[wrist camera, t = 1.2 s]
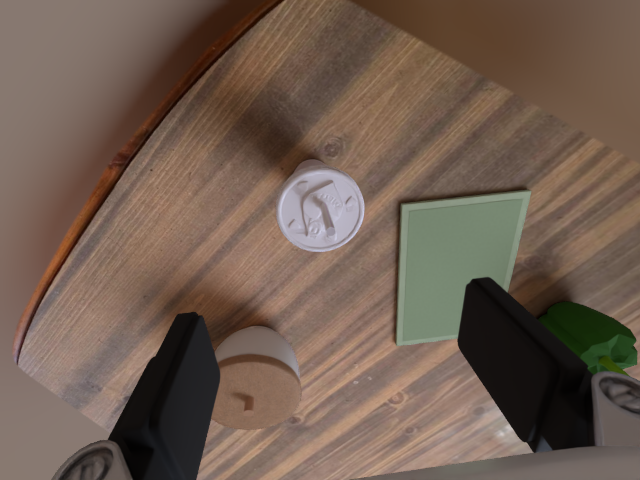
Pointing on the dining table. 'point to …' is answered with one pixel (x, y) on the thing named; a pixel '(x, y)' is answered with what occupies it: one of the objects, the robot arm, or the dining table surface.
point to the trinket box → (256, 379)
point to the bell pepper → (592, 337)
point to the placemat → (452, 258)
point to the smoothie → (319, 207)
